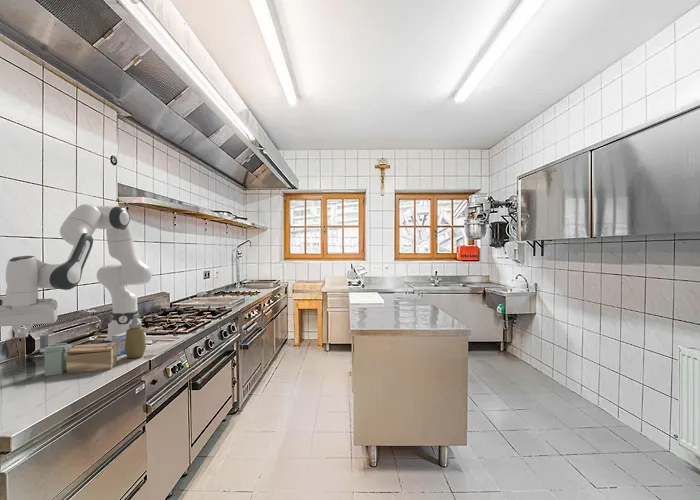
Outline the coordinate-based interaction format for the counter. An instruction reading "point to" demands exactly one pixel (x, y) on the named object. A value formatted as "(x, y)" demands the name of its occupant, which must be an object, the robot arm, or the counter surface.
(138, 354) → the squeeze bottle
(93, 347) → the lid
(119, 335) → the medicine box
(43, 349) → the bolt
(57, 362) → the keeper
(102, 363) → the crate
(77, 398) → the counter surface
